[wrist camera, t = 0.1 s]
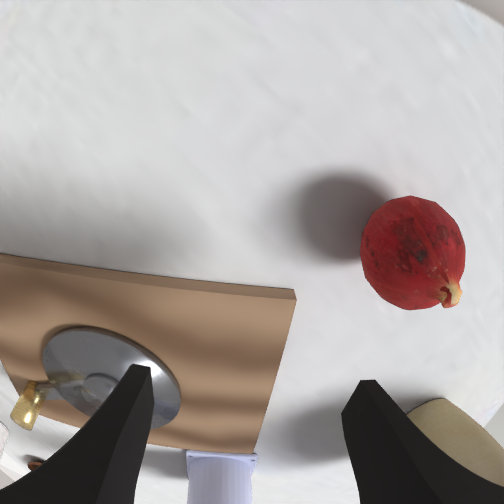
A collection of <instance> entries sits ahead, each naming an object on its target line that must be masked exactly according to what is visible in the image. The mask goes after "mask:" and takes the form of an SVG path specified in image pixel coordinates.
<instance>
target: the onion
mask: <svg viewBox="0 0 504 504" xmlns="http://www.w3.org/2000/svg"><path fill="white" fill-rule="evenodd" d="M360 256H361V261H362V266H363V271H364V274H365V278H366V279H367V281H368V282H369V283H370V285H371V286H372V287H373V288H374V290H375V291H376V292H377V293H378V294H379V295H380V297H381V298H383V299H384V300H386V301H387V302H389V303H391V304H393V305H395V306H397V307H399V308H402V309H405V310H417V309H426V308H430V307H433V306H435V305H437V304H439V303H442V306H443V307H444V308H449V307H453V306H455V305H457V304H458V302H459V298H460V296H461V294H462V291H461V289H460V285H459V281H460V279H461V277H462V274H463V272H464V267H465V244H464V241H463V238H462V235H461V232H460V229H459V227H458V225H457V223H456V222H455V220H454V219H453V218H452V217H451V216H450V215H449V214H448V213H447V212H446V211H445V210H444V209H443V208H442V207H441V206H439V205H438V204H437V203H436V202H433V201H430V200H426V199H422V198H418V197H414V196H406V197H401V198H397V199H392V200H390V201H387V202H386V203H385V204H383V205H382V206H381V207H380V208H378V209H377V210H376V211H374V212H373V213H372V215H371V217H370V219H369V221H368V223H367V224H366V226H365V228H364V230H363V232H362V238H361V246H360Z"/></svg>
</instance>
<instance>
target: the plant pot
mask: <svg viewBox="0 0 504 504" xmlns="http://www.w3.org/2000/svg"><path fill="white" fill-rule="evenodd" d="M407 416H408V418H409V419H410V420H411V421H412V422H413V423H414V424H415V425H416V426H417V427H418V428H419V429H420V430H421V431H422V432H423V433H424V434H425V435H426V436H427V437H428V438H429V439H430V440H431V441H432V442H433V443H434V444H435V445H436V446H438V447H439V448H440V449H441V450H442V451H444V452H445V453H446V454H447V455H448V456H450V457H451V458H452V459H454V460H455V461H456V462H458V463H459V464H461V465H462V466H464V467H465V468H467V469H468V470H470V471H472V472H473V473H475V474H477V475H479V476H481V477H483V478H485V479H486V480H488V481H491V482H493V483H495V484H498V485H500V486H503V487H504V449H503V447H502V446H500V444H499V443H498V442H497V441H496V440H495V439H494V438H493V437H492V436H491V435H490V434H489V433H488V432H487V431H486V430H485V429H484V428H483V427H482V426H481V425H479V424H478V423H477V422H476V421H475V420H474V419H472V418H471V417H470V416H469V415H468V414H466V413H465V412H464V411H462V410H461V409H460V408H458V407H457V406H455V405H454V404H453V403H451V402H450V401H448V400H447V399H435V400H432V401H429V402H427V403H424V404H422V405H421V406H419V407H417V408H415V409H414V410H412V411H411V412H410V413H408V414H407Z"/></svg>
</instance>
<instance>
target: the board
mask: <svg viewBox="0 0 504 504" xmlns="http://www.w3.org/2000/svg"><path fill="white" fill-rule="evenodd" d="M296 301H297V299H296V296H295V292H294V289H282V288H270V287H259V286H248V285H238V284H228V283H218V282H208V281H199V280H189V279H180V278H171V277H163V276H154V275H146V274H138V273H130V272H122V271H114V270H107V269H99V268H92V267H84V266H77V265H70V264H63V263H57V262H50V261H43V260H37V259H30V258H24V257H18V256H12V255H6V254H0V360H1V362H2V364H3V366H4V368H5V370H6V372H7V374H8V376H9V378H10V380H11V382H12V384H13V385H14V387H15V389H16V391H17V393H18V394H19V396H20V395H21V394H22V392H23V390H24V388H25V386H26V384H27V383H28V381H34V382H36V383H48V382H50V381H49V379H48V377H47V375H46V372H45V370H44V366H43V352H44V349H45V347H46V345H47V344H48V342H49V340H50V339H51V337H52V336H53V335H54V334H55V333H57V332H58V331H60V330H62V329H65V328H68V327H74V326H89V327H96V328H101V329H105V330H109V331H112V332H115V333H118V334H120V335H123V336H125V337H127V338H129V339H131V340H133V341H135V342H137V343H139V344H140V345H142V346H144V347H145V348H147V349H148V350H149V351H151V352H152V353H154V354H155V355H156V356H157V357H158V358H160V359H161V360H162V361H163V362H164V363H165V364H166V365H167V366H168V367H169V369H170V370H171V371H172V373H173V374H174V376H175V377H176V379H177V381H178V383H179V386H180V389H181V403H180V409H179V412H178V414H177V416H176V417H175V418H174V419H173V420H172V421H171V422H170V423H168V424H166V425H164V426H162V427H159V428H155V429H150V433H149V437H148V440H147V444H153V445H159V446H166V447H173V448H181V449H189V450H198V451H209V452H222V453H242V454H253V451H254V448H255V445H256V442H257V438H258V435H259V432H260V429H261V426H262V423H263V419H264V416H265V413H266V410H267V406H268V403H269V400H270V396H271V393H272V390H273V386H274V383H275V379H276V376H277V372H278V369H279V365H280V362H281V358H282V354H283V351H284V347H285V343H286V340H287V336H288V332H289V328H290V325H291V321H292V317H293V313H294V309H295V305H296ZM39 415H42V416H44V417H47V418H50V419H53V420H56V421H59V422H62V423H65V424H68V425H72V426H75V427H78V428H82V427H83V426H84V424H85V423H86V422H87V421H88V420H89V419H90V418H91V417H89V416H87V415H86V414H84V413H82V412H81V411H79V410H78V409H76V408H75V407H73V406H72V405H71V404H70V403H68V402H67V401H66V400H65V399H63V400H45V401H44V403H43V406H42V408H41V410H40V412H39Z"/></svg>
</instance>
